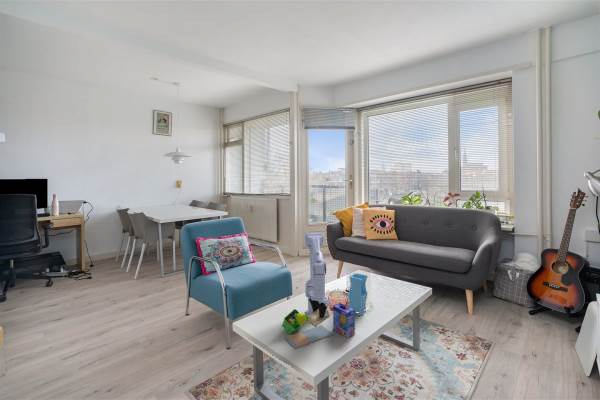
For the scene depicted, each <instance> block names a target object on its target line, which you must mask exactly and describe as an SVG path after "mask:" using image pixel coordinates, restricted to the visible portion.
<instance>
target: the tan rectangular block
mask: <svg viewBox="0 0 600 400" xmlns="http://www.w3.org/2000/svg"><path fill="white" fill-rule="evenodd" d="M330 317H331V316H330V313H329V310H328V308H327V309H326V312H325V316H324V318H320V316H319V309H317V310H316V311H314V312H313V313H312V314H310V315H308V322H309V324H311V326H313V328H314V327H317V326H320V324H322V323H323V322H324V321H326V320H327V319H328V318H330Z"/></svg>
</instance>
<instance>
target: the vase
mask: <svg viewBox="0 0 600 400" xmlns="http://www.w3.org/2000/svg"><path fill="white" fill-rule="evenodd" d="M367 279H368V275H366V274H362V273H358V272H354V273H352V274H350V275H349V280H350V281H349V283H350V287H349V291H348V294H347V298H348V301H349V302H348V304H349V305H348V307H350V308H352V309H354V310H355V315H357V316H362V315H364V314H365V313H366V312H367V305H366V304H367V298H368V291H367V286H366V282H367ZM365 309H366V310H365ZM364 310H365V311H364ZM356 312H359V313H356Z"/></svg>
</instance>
